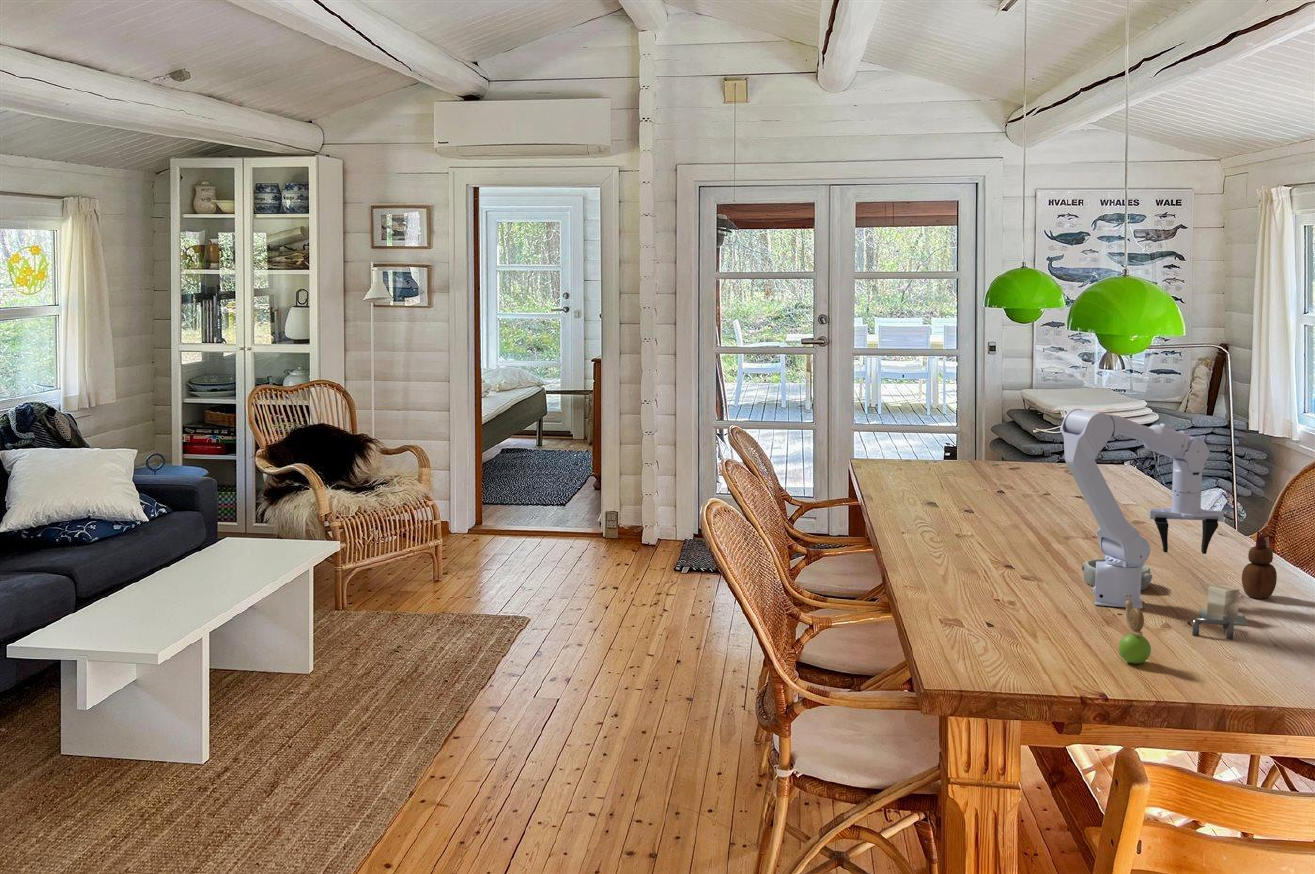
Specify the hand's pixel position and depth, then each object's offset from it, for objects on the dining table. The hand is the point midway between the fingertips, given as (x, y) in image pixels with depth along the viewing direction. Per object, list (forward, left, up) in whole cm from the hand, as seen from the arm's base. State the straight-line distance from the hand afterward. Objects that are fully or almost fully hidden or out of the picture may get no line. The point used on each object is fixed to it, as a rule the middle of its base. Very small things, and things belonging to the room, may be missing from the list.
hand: (1184, 552), depth 241 cm
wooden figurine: (+16, +7, -11) cm, 20 cm away
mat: (+7, -13, -10) cm, 18 cm away
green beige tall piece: (-11, -48, -11) cm, 51 cm away
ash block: (+7, -13, -10) cm, 18 cm away
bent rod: (+4, -24, -10) cm, 26 cm away
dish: (-13, +8, -11) cm, 19 cm away
